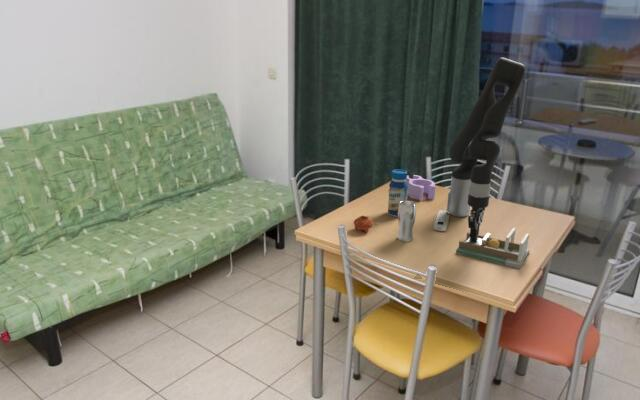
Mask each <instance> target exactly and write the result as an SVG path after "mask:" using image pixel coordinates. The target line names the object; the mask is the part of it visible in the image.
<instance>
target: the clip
mask: <svg viewBox="0 0 640 400" xmlns="http://www.w3.org/2000/svg"><path fill="white" fill-rule="evenodd" d="M406 182H407V184H408V188H407V190H408V194H407V197H408V198H411V199H413V200H417V201H418V200H419V202H422V201H423V200H424V194H427V195H428V197H427V199H428V200H432V201H434V200H436V190H437V189H436V185H435V184H436V183H435V181H433V180H431V179H427V178H426V179H425V178H423V177H422V176H421V175H416V174H413V176H412V178H410V175H407V179H406Z"/></svg>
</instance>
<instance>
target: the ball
mask: <svg viewBox="0 0 640 400" xmlns="http://www.w3.org/2000/svg"><path fill="white" fill-rule="evenodd" d="M496 239H497V238H496ZM496 239H491V240H490V241H489V242H488V246H489V247H491V248H495V249H497V248H498V247H499V241H498V240H496Z"/></svg>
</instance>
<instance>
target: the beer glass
mask: <svg viewBox="0 0 640 400" xmlns="http://www.w3.org/2000/svg"><path fill="white" fill-rule="evenodd" d="M416 215H417V203H416V202H415V201H412V200H407V201H401V202H399V208H398V217H397V221H398V235H397V239H398V240H399V241H400V242H404V243H405V242H408V243H409V242H411V241H413V240H414V237H413V230H414V225H415V221H416Z"/></svg>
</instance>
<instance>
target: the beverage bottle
mask: <svg viewBox="0 0 640 400" xmlns="http://www.w3.org/2000/svg"><path fill="white" fill-rule="evenodd" d="M390 176H391V180H390V182H389V186H388V187H389V189H388V203H387V204H388V205H387V206H388V207H387V214H388V215H389V216H390V217H396V218H398V208H399V202H401V201H408V190H407V188H408V184H407V182H406V179H407V176H408V171H407V170H405V169H401V168H400V169H399V168H398V169H397V168H396V169H393V170H391V175H390Z"/></svg>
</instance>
